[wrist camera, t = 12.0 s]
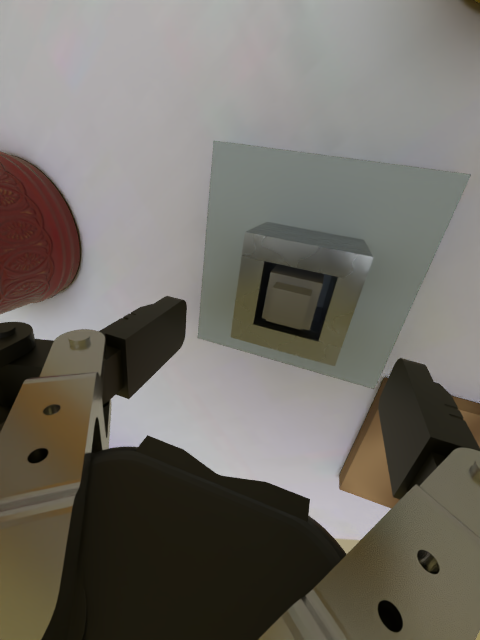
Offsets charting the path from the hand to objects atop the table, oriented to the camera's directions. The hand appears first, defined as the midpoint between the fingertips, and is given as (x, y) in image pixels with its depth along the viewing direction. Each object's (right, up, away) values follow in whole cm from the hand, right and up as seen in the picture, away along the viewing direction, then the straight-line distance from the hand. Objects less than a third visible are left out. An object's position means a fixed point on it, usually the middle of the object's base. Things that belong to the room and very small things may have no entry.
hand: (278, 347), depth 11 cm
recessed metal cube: (+3, +4, +8) cm, 9 cm away
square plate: (+3, +5, +10) cm, 11 cm away
